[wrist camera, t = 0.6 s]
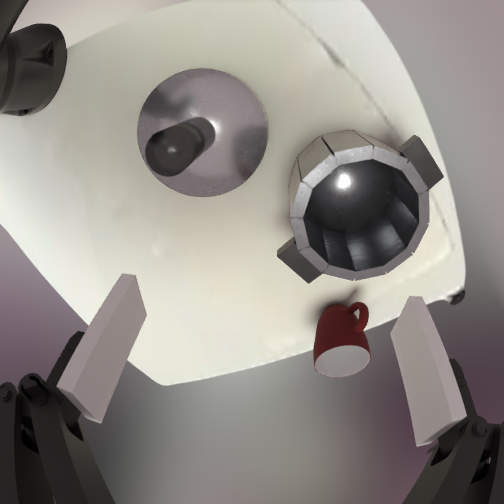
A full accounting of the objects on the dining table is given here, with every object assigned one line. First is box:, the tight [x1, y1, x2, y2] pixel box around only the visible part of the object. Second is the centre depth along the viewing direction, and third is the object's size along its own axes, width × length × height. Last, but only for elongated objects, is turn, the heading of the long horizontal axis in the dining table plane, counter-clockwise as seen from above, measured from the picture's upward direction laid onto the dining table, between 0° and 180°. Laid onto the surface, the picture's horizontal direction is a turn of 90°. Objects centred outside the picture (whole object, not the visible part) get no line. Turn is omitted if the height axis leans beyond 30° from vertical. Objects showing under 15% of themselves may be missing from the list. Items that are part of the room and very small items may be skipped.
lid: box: [137, 69, 268, 197], centre depth 26 cm, size 15×15×12 cm
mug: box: [313, 302, 371, 378], centre depth 39 cm, size 11×8×10 cm
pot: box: [277, 130, 444, 284], centre depth 29 cm, size 14×19×9 cm
